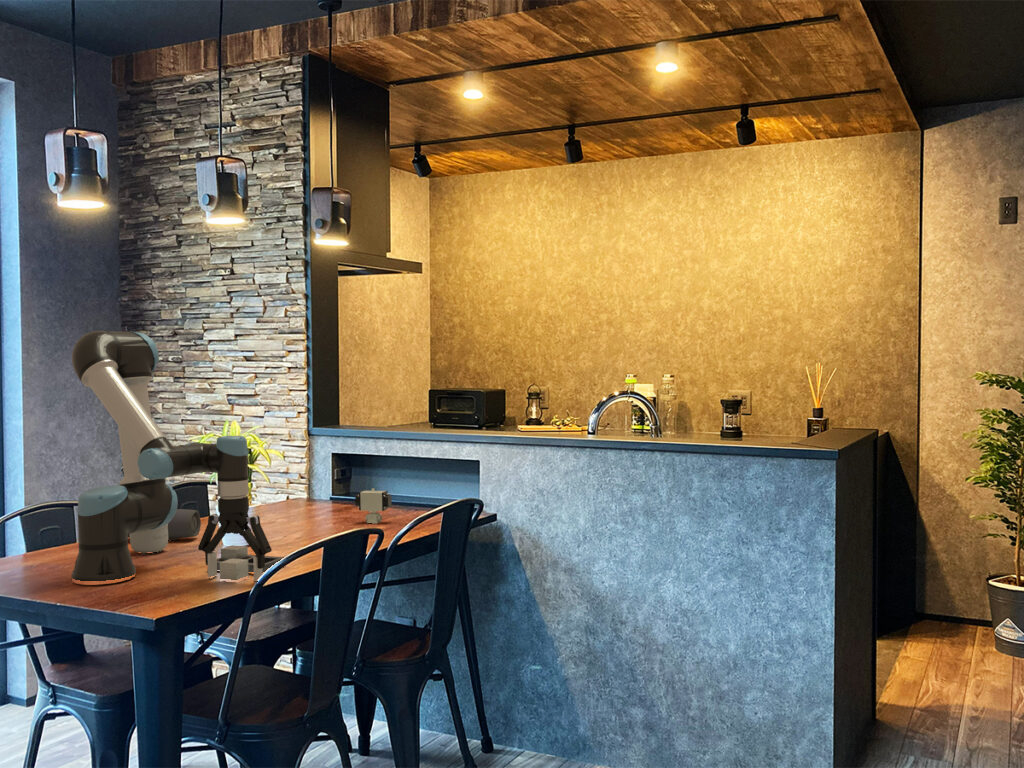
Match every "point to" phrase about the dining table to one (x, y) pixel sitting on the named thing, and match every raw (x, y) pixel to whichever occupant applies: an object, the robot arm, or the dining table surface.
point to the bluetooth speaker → (184, 524)
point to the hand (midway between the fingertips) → (235, 579)
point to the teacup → (149, 540)
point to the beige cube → (234, 569)
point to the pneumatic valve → (373, 504)
